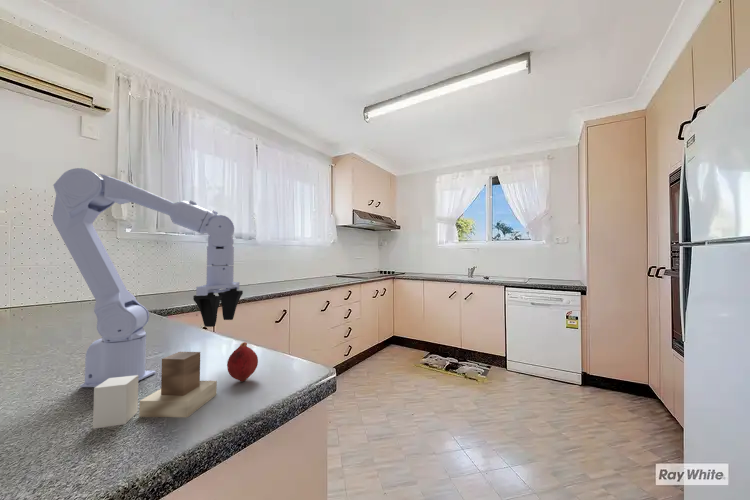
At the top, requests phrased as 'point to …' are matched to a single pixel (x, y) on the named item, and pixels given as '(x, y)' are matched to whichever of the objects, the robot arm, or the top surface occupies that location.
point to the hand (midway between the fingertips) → (219, 322)
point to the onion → (242, 362)
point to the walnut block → (180, 373)
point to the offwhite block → (115, 401)
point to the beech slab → (177, 402)
